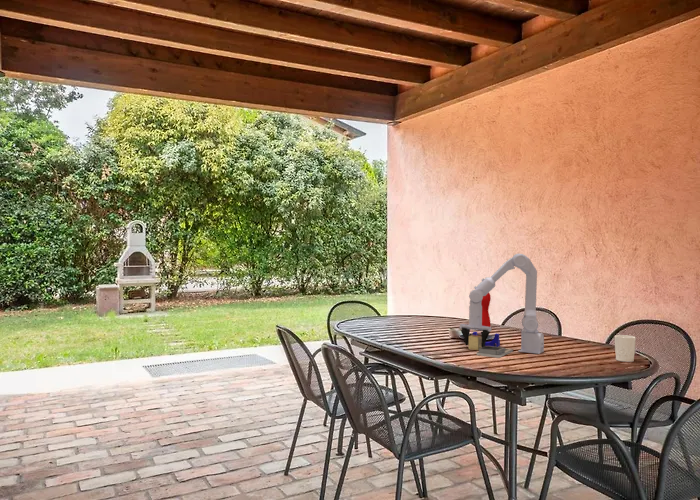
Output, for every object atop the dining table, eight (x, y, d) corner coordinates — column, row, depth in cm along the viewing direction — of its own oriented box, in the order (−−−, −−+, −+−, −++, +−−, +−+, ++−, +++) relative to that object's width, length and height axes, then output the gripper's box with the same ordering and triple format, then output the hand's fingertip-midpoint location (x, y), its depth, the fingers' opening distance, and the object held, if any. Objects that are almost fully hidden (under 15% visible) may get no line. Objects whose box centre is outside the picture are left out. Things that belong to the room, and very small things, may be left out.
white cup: (624, 362, 230) (624, 338, 230) (610, 358, 238) (610, 335, 238) (639, 361, 232) (640, 337, 232) (625, 358, 240) (625, 334, 240)
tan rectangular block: (481, 348, 258) (481, 335, 258) (477, 350, 254) (478, 336, 254) (472, 347, 260) (472, 334, 260) (468, 349, 257) (468, 335, 257)
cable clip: (499, 345, 267) (500, 333, 267) (497, 347, 263) (498, 334, 263) (474, 343, 273) (474, 331, 273) (472, 345, 269) (472, 332, 268)
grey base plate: (512, 351, 252) (513, 345, 252) (499, 357, 237) (499, 351, 237) (491, 348, 258) (491, 342, 258) (476, 355, 243) (476, 348, 243)
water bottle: (477, 326, 331) (477, 283, 331) (492, 328, 323) (493, 284, 322) (467, 327, 325) (467, 284, 325) (482, 329, 317) (483, 285, 317)
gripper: (457, 315, 258) (456, 345, 258) (487, 318, 250) (487, 348, 250) (463, 314, 264) (462, 343, 264) (493, 316, 256) (492, 346, 256)
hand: (475, 345), depth 257 cm, fingers open, 7 cm apart
